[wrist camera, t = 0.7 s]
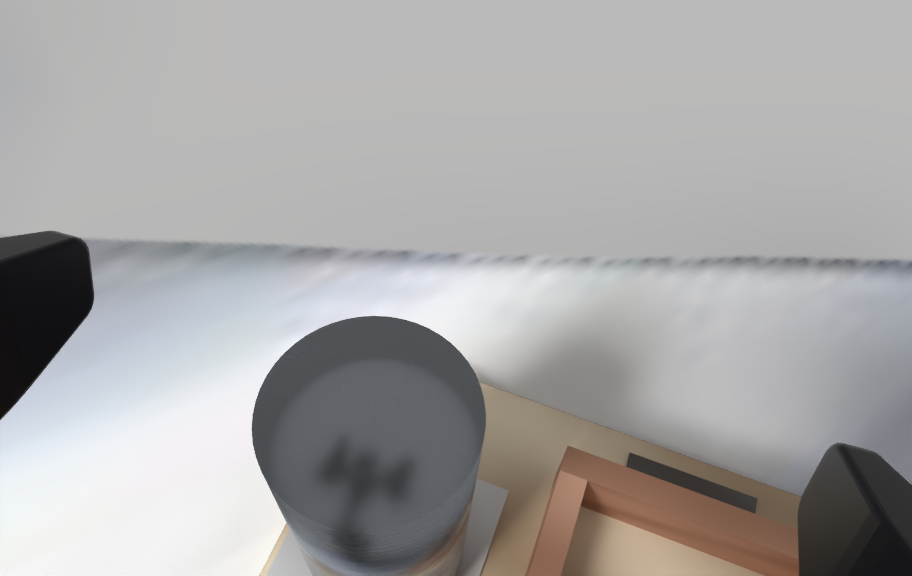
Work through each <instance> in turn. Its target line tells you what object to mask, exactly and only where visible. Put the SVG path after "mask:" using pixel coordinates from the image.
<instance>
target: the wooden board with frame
mask: <svg viewBox="0 0 912 576" xmlns="http://www.w3.org/2000/svg"><path fill="white" fill-rule="evenodd" d="M479 384H480V386H481V390H482V393H483V397H484V402H485V409H486V428H485V435H484V441H483V447H482V452H481V457H480V463H479V468H478V473H477V479H476V484H475V490H474V495H473V500H472V506H471V511H470V516H469V522H468V527H467V532H466V538H465V543H464V549H463V554H462V559H461V564H460V568H459V571H458V574H457V576H799V562H798V522H797V515H798V507H799V503H800V500H801V497H800V496H797V495H794V494H792V493H789V492H786V491H783V490H780V489H778V488H775V487H772V486H769V485H766V484H764V483H761V482H758V481H755V480H752V479H750V478H747V477H744V476H741V475H738V474H735V473H733V472H730V471H727V470H724V469H721V468H719V467H716V466H713V465H710V464H707V463H705V462H702V461H699V460H696V459H693V458H691V457H688V456H685V455H682V454H679V453H677V452H674V451H671V450H668V449H665V448H663V447H660V446H657V445H654V444H651V443H649V442H646V441H643V440H640V439H637V438H635V437H632V436H629V435H626V434H623V433H621V432H618V431H615V430H612V429H609V428H607V427H604V426H601V425H598V424H595V423H593V422H590V421H587V420H584V419H581V418H579V417H576V416H573V415H570V414H567V413H565V412H562V411H559V410H556V409H553V408H551V407H548V406H545V405H542V404H539V403H537V402H534V401H531V400H528V399H525V398H523V397H520V396H517V395H514V394H511V393H509V392H506V391H503V390H500V389H497V388H495V387H492V386H489V385H486V384H483V383H481V382H479ZM259 576H312V574H311V571H310V569H309V567H308V565H307V563H306V561H305V559H304V557H303V555H302V553H301V551H300V549H299V547H298V545H297V543H296V541H295V539H294V537H293V535H292V533H291V531H290V528H289V526H288V524H287V523H286V525H285V527H284V529H283V531H282V533H281V535H280V536H279V538H278V540H277V542H276V544H275V546H274V548H273V550H272V552H271V554H270V556H269V558H268V560H267V562H266V564H265V566H264V568H263V569H262V571H261V573H260V575H259Z"/></svg>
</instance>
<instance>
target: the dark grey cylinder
mask: <svg viewBox="0 0 912 576" xmlns="http://www.w3.org/2000/svg"><path fill="white" fill-rule="evenodd" d="M485 428H486V409H485V402H484V397H483V393H482V390H481V386H480V384H479V381H478V379H477V377H476V374H475V373H474V371H473V369H472V368H471V366H470V364H469V363H468V361H467V360H466V359H465V358H464V356H463V355H462V354H461V353H460V352H459V351H458V350H457V349H456V348H455V347H454V346H453V345H452V344H451V343H450V342H449V341H447V340H446V339H445V338H443V337H442V336H440V335H439V334H437V333H435V332H434V331H432V330H430V329H428V328H426V327H424V326H421V325H419V324H417V323H414V322H410V321H407V320H403V319H398V318H392V317H381V316H368V317H357V318H351V319H346V320H342V321H339V322H335V323H332V324H329V325H327V326H324V327H322V328H320V329H318V330H316V331H314V332H312V333H310V334H308V335H307V336H305V337H304V338H302V339H301V340H300V341H298V342H297V343H295V344H294V345H293V346H292V347H291V348H290V349H289V350H287V351H286V352H285V353H284V354H283V355H282V356H281V358H280V359H279V360H278V361H277V362H276V363H275V365H274V366H273V367H272V369H271V370H270V372H269V373H268V375H267V376H266V378H265V380H264V382H263V384H262V386H261V388H260V391H259V394H258V397H257V399H256V403H255V407H254V412H253V421H252V437H253V446H254V450H255V454H256V458H257V461H258V463H259V466H260V469H261V471H262V473H263V475H264V477H265V479H266V481H267V483H268V485H269V487H270V490H271V492H272V494H273V496H274V498H275V500H276V502H277V504H278V506H279V508H280V510H281V512H282V514H283V516H284V518H285V520H286V522H287V524H288V526H289V528H290V531H291V533H292V535H293V537H294V539H295V541H296V543H297V545H298V547H299V549H300V551H301V553H302V555H303V557H304V559H305V561H306V563H307V565H308V567H309V569H310V571H311V574H312V576H457V574H458V571H459V568H460V564H461V559H462V554H463V549H464V543H465V538H466V532H467V527H468V522H469V516H470V511H471V506H472V500H473V495H474V490H475V484H476V479H477V473H478V468H479V463H480V457H481V452H482V447H483V441H484V435H485Z"/></svg>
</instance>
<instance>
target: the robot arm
mask: <svg viewBox="0 0 912 576" xmlns="http://www.w3.org/2000/svg"><path fill="white" fill-rule="evenodd" d="M93 302H94V288H93V280H92V271H91V262H90V254H89V248H88V246H87V244H86V243H85V242H84V241H83V240H82V239H81V238H78V237H75V236H71V235H68V234H64V233H60V232H56V231H44V232H37V233H31V234H24V235H17V236H11V237H4V238H0V420H1V419H2V418H3V417H4V416H5V415H6V414H7V413H8V412H9V411H10V410H11V409H12V407H13V406H14V405H15V404H16V403H17V402H18V401H19V400H20V398H21V397H22V396H23V395H24V394H25V392H26V391H27V390H28V389H29V388H30V386H31V385H32V384H33V383H34V381H35V380H36V379H37V378H38V377H39V375H40V374H41V373H42V372H43V370H44V369H45V368H46V367H47V365H48V364H49V363H50V362H51V360H52V359H53V358H54V357H55V355H56V354H57V353H58V352H59V351H60V349H61V348H62V347H63V346H64V344H65V343H66V342H67V341H68V339H69V338H70V337H71V336H72V334H73V333H74V332H75V331H76V329H77V328H78V327H79V326H80V325H81V323H82V322H83V321H84V320H85V318H86V317H87V316H88V314H89V312H90V310H91V309H92V306H93ZM797 522H798V562H799V576H912V485H911V484H910V483H909V482H908V481H907V480H905V479H904V478H903V477H902V476H901V475H900V474H899V473H898V472H897V471H896V470H895V469H894V468H892V467H891V466H890V465H889V464H888V463H887V462H886V461H885V460H884V459H883V458H882V457H881V456H879V455H878V454H877V453H875V452H873V451H870V450H866V449H862V448H859V447H855V446H851V445H847V444H843V443H836V444H834V445H832V446H831V447H830V448H829V449H828V450H827V451H826V453H825V454H824V456H823V458H822V460H821V462H820V463H819V465H818V467H817V469H816V471H815V473H814V474H813V476H812V478H811V480H810V482H809V484H808V485H807V487H806V489H805V491H804V493H803V495H802V497H801V500H800V503H799V507H798V515H797Z"/></svg>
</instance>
